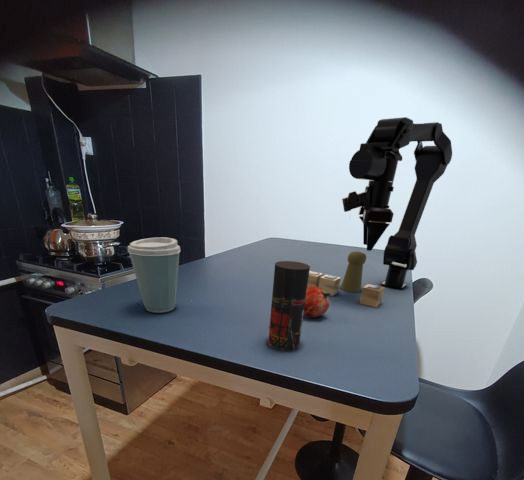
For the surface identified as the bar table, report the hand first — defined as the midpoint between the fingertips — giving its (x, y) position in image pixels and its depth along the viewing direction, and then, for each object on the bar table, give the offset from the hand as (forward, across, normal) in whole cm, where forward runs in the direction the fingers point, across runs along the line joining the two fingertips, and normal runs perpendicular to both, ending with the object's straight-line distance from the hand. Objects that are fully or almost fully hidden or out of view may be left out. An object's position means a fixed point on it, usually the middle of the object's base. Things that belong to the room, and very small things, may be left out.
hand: (367, 247), depth 84 cm
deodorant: (+14, +37, -16) cm, 43 cm away
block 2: (+14, 0, -8) cm, 16 cm away
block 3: (+14, +5, +3) cm, 15 cm away
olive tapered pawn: (+14, -7, -1) cm, 15 cm away
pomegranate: (+14, +20, -12) cm, 27 cm away
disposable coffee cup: (+13, +28, -46) cm, 56 cm away
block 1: (+14, -2, -13) cm, 19 cm away
